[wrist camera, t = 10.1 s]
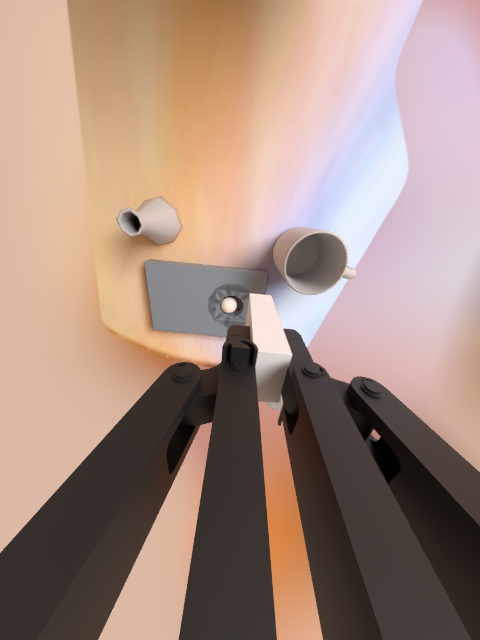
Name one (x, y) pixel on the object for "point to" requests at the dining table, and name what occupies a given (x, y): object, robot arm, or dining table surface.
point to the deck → (199, 295)
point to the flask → (151, 221)
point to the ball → (228, 304)
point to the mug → (311, 259)
